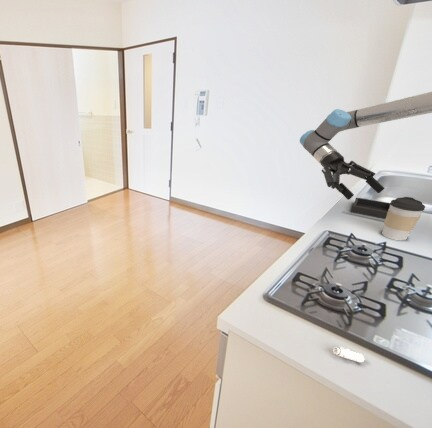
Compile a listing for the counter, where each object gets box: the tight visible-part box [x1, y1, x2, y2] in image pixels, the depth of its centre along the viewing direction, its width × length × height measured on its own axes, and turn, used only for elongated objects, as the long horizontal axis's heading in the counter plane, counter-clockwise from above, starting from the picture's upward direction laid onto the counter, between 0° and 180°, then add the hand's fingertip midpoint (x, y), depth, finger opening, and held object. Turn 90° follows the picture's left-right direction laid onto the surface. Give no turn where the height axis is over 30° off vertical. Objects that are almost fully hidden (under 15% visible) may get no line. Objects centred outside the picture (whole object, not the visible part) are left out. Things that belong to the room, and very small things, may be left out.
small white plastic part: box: [332, 346, 366, 363], centre depth 62 cm, size 4×6×3 cm, turn 48°
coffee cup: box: [381, 196, 426, 241], centre depth 104 cm, size 9×9×15 cm
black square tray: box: [350, 196, 391, 220], centre depth 127 cm, size 13×13×3 cm
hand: (366, 194), depth 108 cm, fingers open, 13 cm apart
